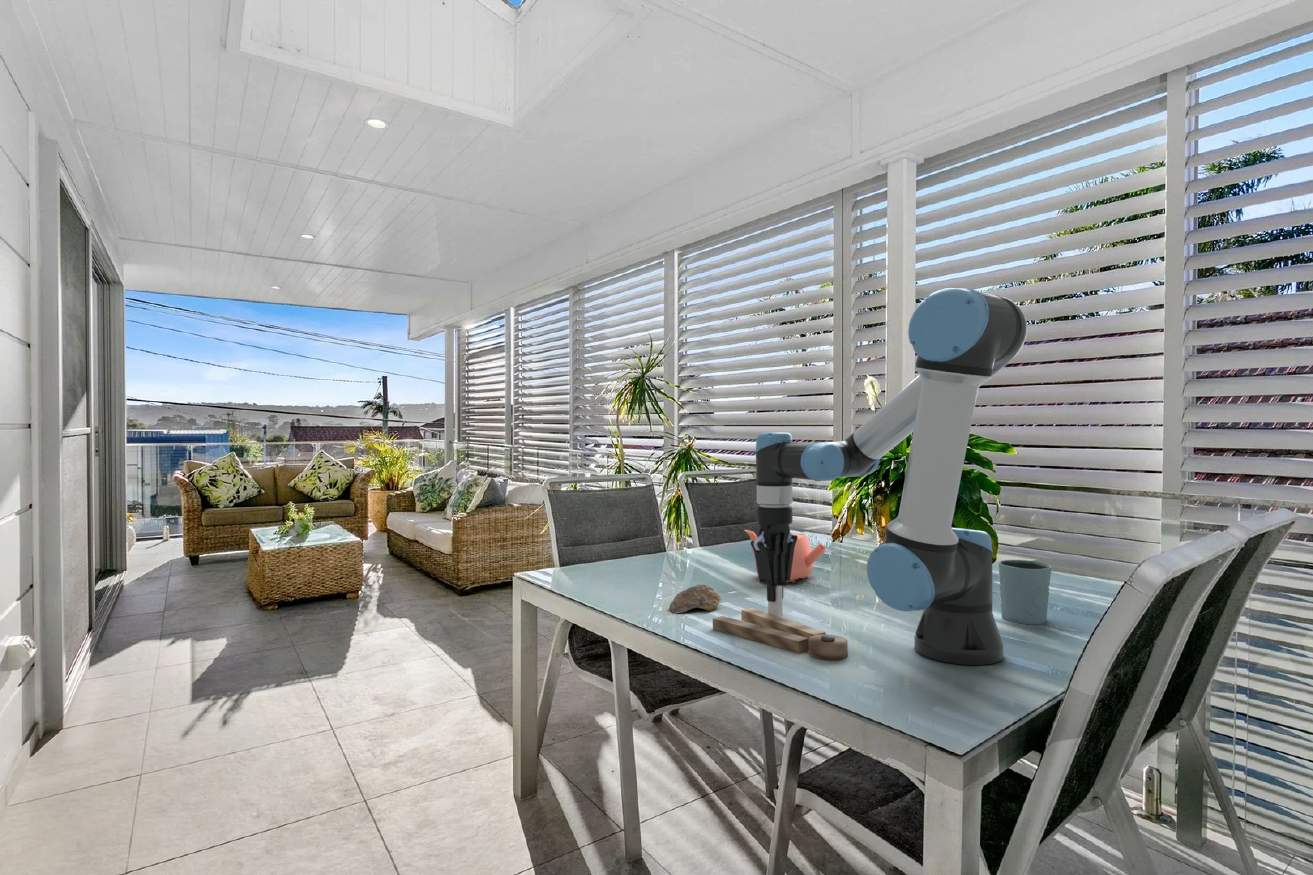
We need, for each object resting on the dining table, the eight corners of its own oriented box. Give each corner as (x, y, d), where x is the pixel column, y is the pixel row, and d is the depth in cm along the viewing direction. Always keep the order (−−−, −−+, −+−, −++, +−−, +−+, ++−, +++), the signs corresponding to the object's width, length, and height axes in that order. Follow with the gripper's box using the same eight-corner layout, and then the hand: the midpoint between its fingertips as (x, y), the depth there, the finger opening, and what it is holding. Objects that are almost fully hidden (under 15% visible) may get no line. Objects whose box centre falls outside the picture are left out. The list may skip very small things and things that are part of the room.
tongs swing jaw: (825, 643, 132) (825, 632, 132) (814, 646, 131) (814, 634, 131) (752, 617, 151) (751, 607, 151) (741, 620, 150) (741, 609, 150)
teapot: (762, 587, 182) (762, 535, 182) (744, 573, 200) (743, 525, 200) (828, 584, 185) (827, 532, 184) (803, 570, 203) (803, 523, 203)
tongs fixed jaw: (855, 654, 127) (855, 636, 127) (833, 662, 122) (833, 645, 122) (735, 622, 149) (734, 607, 149) (712, 628, 144) (712, 613, 144)
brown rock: (664, 605, 165) (663, 584, 165) (714, 602, 168) (713, 581, 168) (672, 615, 156) (672, 594, 156) (725, 612, 159) (725, 590, 158)
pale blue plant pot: (1000, 610, 156) (1000, 557, 155) (1052, 616, 150) (1052, 561, 150) (996, 621, 147) (996, 565, 147) (1051, 628, 142) (1051, 570, 142)
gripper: (779, 501, 153) (780, 606, 153) (740, 506, 144) (741, 618, 145) (807, 503, 147) (808, 613, 147) (768, 509, 138) (769, 625, 139)
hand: (775, 615), depth 146 cm, fingers closed
